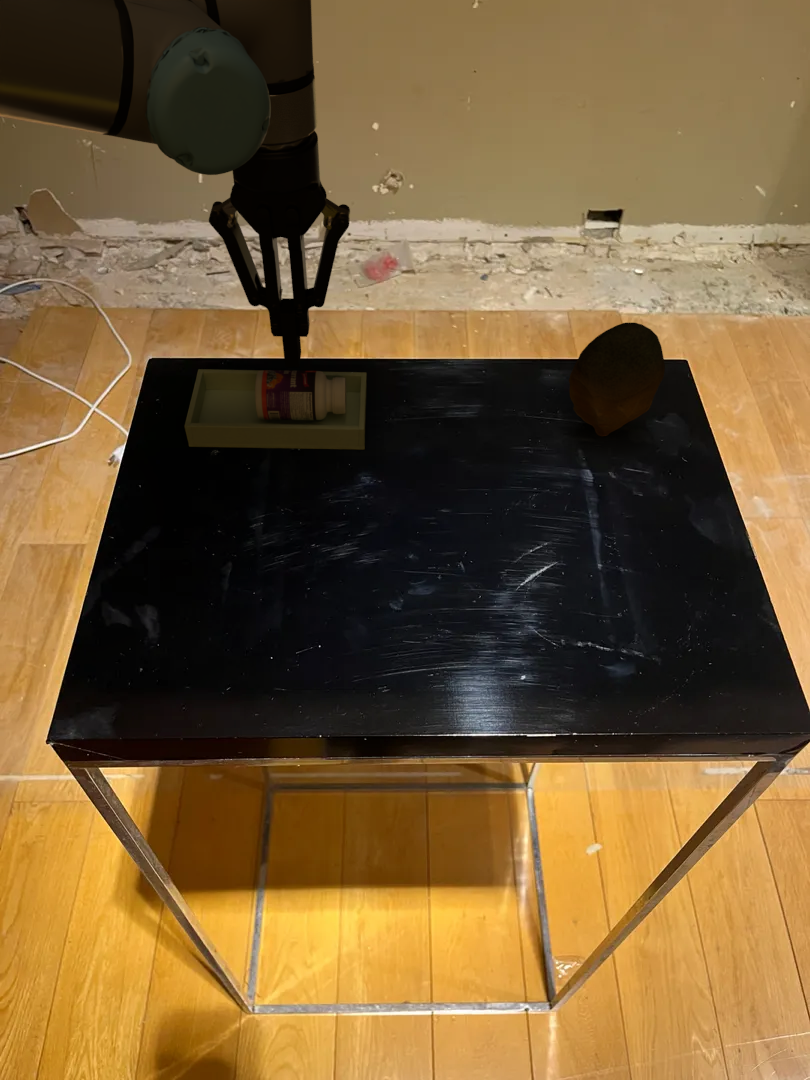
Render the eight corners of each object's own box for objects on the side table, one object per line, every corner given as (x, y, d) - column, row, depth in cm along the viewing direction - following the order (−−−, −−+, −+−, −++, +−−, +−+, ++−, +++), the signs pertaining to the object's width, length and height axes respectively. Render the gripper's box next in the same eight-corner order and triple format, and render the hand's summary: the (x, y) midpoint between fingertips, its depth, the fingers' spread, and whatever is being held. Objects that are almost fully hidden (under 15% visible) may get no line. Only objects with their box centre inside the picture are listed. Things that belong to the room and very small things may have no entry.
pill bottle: (258, 362, 92) (346, 363, 92) (262, 407, 95) (346, 407, 95) (253, 381, 88) (344, 382, 88) (256, 427, 91) (345, 428, 91)
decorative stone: (636, 419, 95) (672, 308, 84) (645, 456, 91) (685, 344, 80) (553, 417, 95) (577, 305, 84) (559, 453, 91) (585, 341, 80)
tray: (189, 446, 90) (184, 426, 88) (202, 389, 97) (198, 368, 94) (364, 449, 91) (364, 429, 88) (366, 392, 97) (366, 372, 95)
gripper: (351, 113, 72) (355, 338, 90) (201, 109, 72) (235, 336, 90) (348, 153, 67) (353, 383, 85) (187, 149, 67) (226, 380, 85)
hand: (293, 358), depth 87 cm, fingers closed
